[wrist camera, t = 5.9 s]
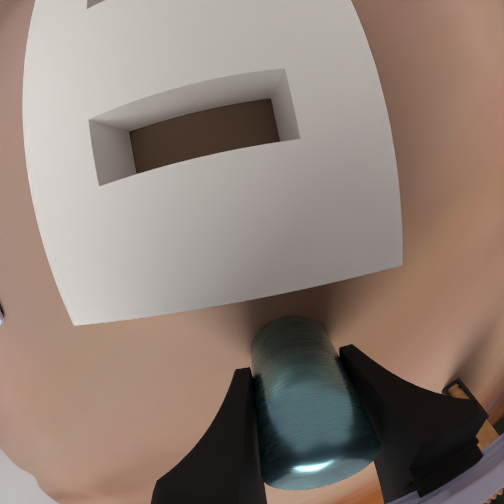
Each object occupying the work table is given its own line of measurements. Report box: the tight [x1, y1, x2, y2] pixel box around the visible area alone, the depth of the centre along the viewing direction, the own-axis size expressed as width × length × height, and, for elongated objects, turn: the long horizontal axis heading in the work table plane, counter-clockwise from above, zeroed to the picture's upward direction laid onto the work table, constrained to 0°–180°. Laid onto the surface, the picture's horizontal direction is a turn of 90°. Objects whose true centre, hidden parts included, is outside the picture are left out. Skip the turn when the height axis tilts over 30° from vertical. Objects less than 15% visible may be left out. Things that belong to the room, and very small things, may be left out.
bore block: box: [23, 0, 403, 326], centre depth 7 cm, size 12×20×4 cm, turn 11°
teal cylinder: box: [251, 316, 381, 490], centre depth 10 cm, size 4×4×7 cm
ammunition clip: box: [442, 379, 504, 504], centre depth 11 cm, size 11×2×12 cm, turn 23°
